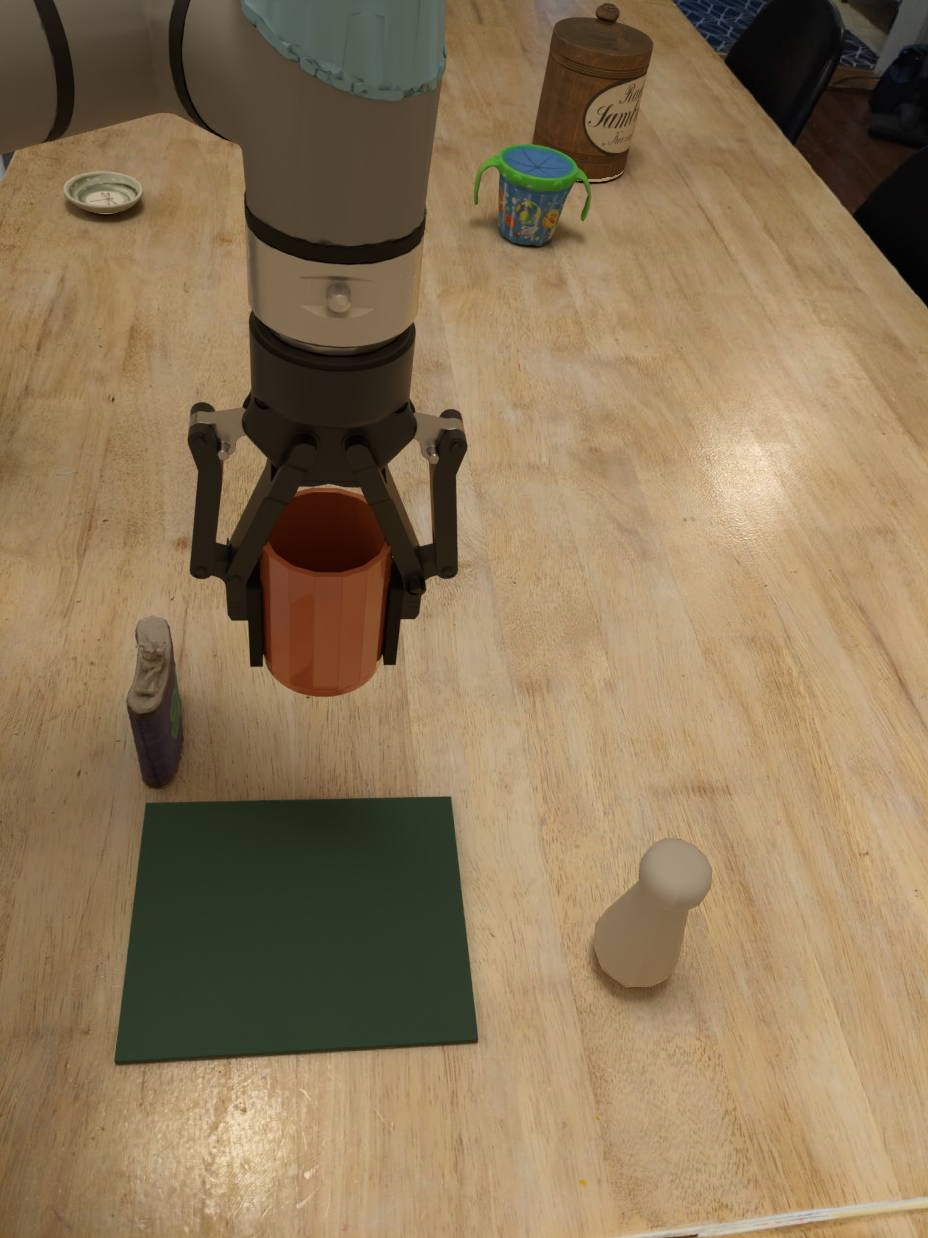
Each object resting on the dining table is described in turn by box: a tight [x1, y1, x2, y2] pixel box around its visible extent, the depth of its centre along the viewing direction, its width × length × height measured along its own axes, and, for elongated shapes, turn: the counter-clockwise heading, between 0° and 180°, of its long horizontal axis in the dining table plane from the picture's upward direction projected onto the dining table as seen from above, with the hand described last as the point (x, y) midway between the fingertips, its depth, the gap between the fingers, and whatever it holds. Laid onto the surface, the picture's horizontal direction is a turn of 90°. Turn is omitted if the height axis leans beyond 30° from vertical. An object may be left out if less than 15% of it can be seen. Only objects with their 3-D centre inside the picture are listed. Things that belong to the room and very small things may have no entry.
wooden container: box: [531, 2, 654, 179], centre depth 151 cm, size 15×15×22 cm
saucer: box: [62, 170, 144, 214], centre depth 130 cm, size 10×10×2 cm
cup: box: [260, 487, 393, 698], centre depth 59 cm, size 7×7×10 cm
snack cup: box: [473, 143, 592, 247], centre depth 136 cm, size 16×11×10 cm
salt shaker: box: [592, 837, 713, 989], centre depth 65 cm, size 6×6×13 cm
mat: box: [113, 795, 479, 1065], centre depth 69 cm, size 22×18×1 cm
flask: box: [125, 615, 184, 790], centre depth 73 cm, size 9×3×11 cm, turn 7°
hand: (323, 648), depth 63 cm, fingers closed on cup, 7 cm apart
